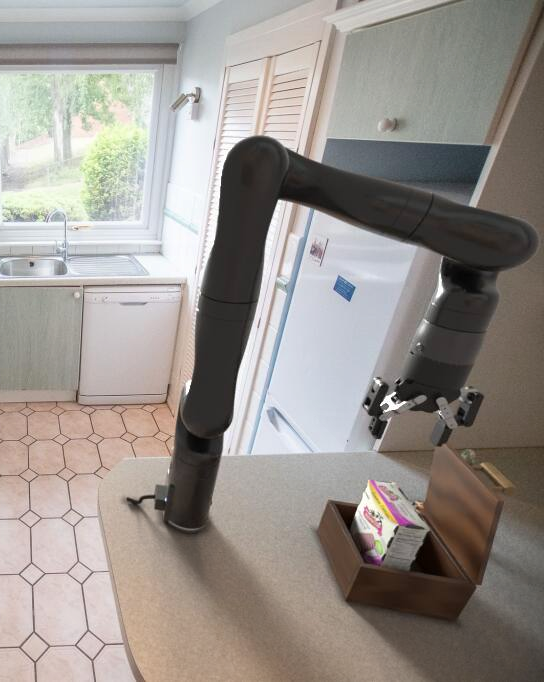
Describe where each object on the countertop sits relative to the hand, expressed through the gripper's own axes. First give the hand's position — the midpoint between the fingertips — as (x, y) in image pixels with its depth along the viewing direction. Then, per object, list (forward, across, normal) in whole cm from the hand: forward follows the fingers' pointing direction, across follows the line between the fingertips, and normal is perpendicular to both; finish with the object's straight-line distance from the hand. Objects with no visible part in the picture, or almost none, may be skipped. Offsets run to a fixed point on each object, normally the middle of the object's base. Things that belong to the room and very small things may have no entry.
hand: (404, 439), depth 74 cm
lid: (+12, -11, 0) cm, 17 cm away
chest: (+30, -5, 0) cm, 31 cm away
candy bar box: (+29, -3, 0) cm, 30 cm away
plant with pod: (+30, -22, -18) cm, 41 cm away
